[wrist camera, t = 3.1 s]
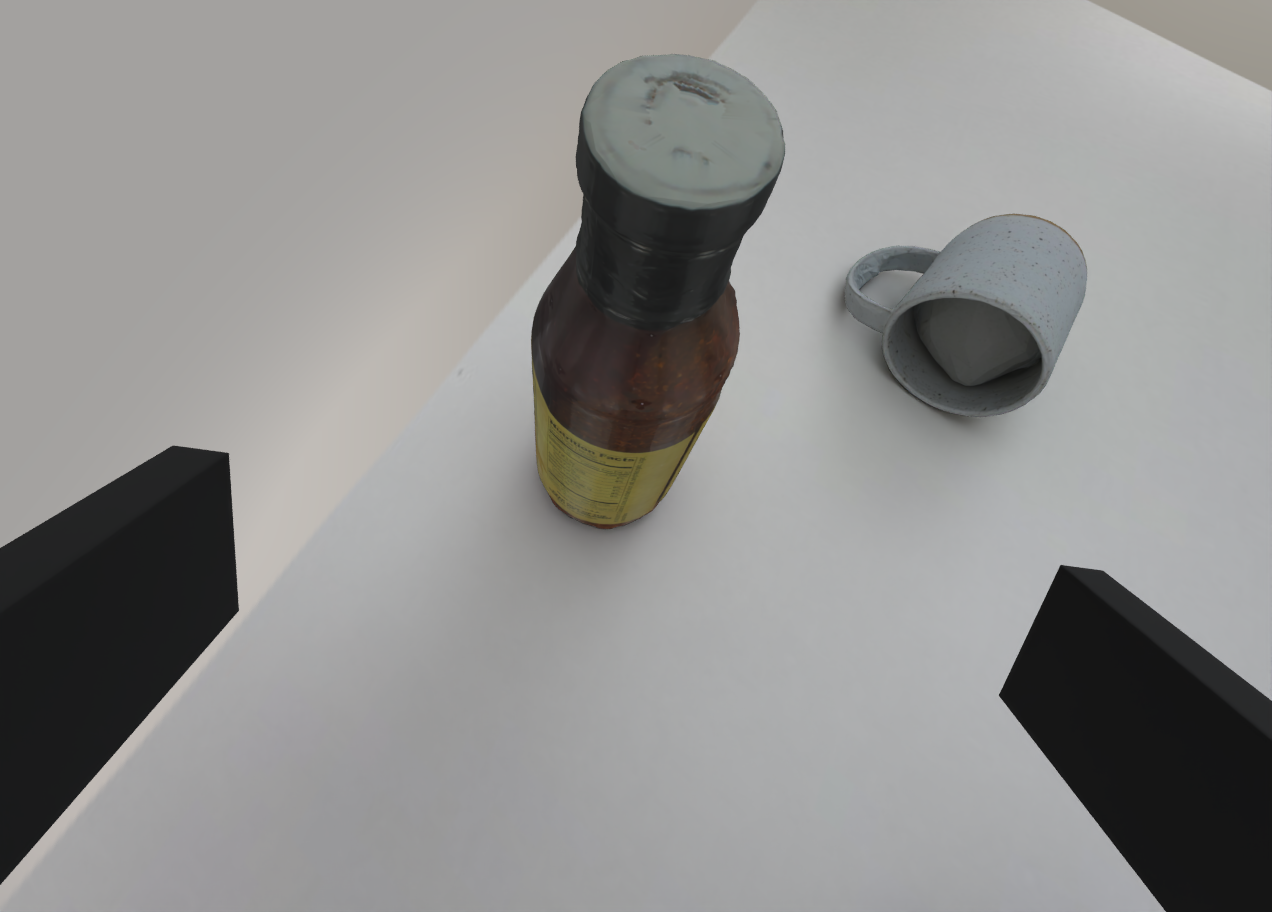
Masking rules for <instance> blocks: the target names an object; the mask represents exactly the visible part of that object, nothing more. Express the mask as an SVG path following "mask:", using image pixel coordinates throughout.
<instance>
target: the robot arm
mask: <svg viewBox="0 0 1272 912" xmlns="http://www.w3.org/2000/svg"><path fill="white" fill-rule="evenodd" d="M238 611H239V607H238V591H237V575H236V560H235V544H234V528H233V512H232V497H231V481H230V465H229V453H224V452H216V451H209V450H202V449H194V448H187V447H179V446H172V447H170V448H168V449H166V450H165V451H163V452H161V453H160V454H158V455H156V456H155V457H153V458H151V459H150V460H148V461H146V462H144V463H143V464H141V465H139V466H138V467H136V468H135V469H133V470H131V471H129V472H128V473H126V474H124V475H123V476H121V477H119V478H118V479H116V480H114V481H113V482H111V483H109V484H107V485H106V486H104V487H102V488H101V489H99V490H97V491H96V492H94V493H92V494H91V495H89V496H87V497H86V498H84V499H82V500H80V501H79V502H77V503H75V504H74V505H72V506H70V507H69V508H67V509H65V510H64V511H62V512H61V513H59V514H57V515H55V516H54V517H52V518H50V519H49V520H47V521H45V522H44V523H42V524H40V525H39V526H37V527H35V528H33V529H32V530H30V531H29V532H27V533H25V534H23V535H22V536H20V537H18V538H17V539H15V540H13V541H11V542H10V543H8V544H7V545H5V546H3V547H1V548H0V885H1V883H2V882H3V881H4V880H5V879H6V878H7V876H8V875H9V874H10V873H11V872H12V871H13V870H14V868H15V867H16V866H17V865H18V864H19V863H20V862H21V860H22V859H23V858H24V857H25V856H26V855H27V854H28V852H29V851H30V850H31V849H32V848H33V846H34V845H35V844H36V843H37V842H38V841H39V840H40V839H41V837H42V836H43V835H44V834H45V833H46V832H47V831H48V829H49V828H50V827H51V826H52V825H53V824H54V822H55V821H56V820H57V819H58V818H59V817H60V816H61V814H62V813H63V812H64V811H65V810H66V809H67V808H68V806H69V805H70V804H71V803H72V802H73V800H74V799H75V798H76V797H77V796H78V795H79V794H80V792H81V791H82V790H83V789H84V788H85V787H86V786H87V784H88V783H89V782H90V781H91V780H92V779H93V778H94V776H95V775H96V774H97V773H98V772H99V771H100V770H101V768H102V767H103V766H104V765H105V764H106V763H107V762H108V760H109V759H110V758H111V757H112V756H113V755H114V754H115V752H116V751H117V750H118V749H119V748H120V747H121V745H122V744H123V743H124V742H125V741H126V740H127V738H128V737H129V736H130V735H131V734H132V733H133V732H134V731H135V729H136V728H137V727H138V726H139V725H140V724H141V723H142V721H143V720H144V719H145V718H146V717H147V716H148V714H149V713H150V712H151V711H152V710H153V709H154V708H155V706H156V705H157V704H158V703H159V702H160V701H161V699H162V698H163V697H164V696H165V695H166V694H167V693H168V691H169V690H170V689H171V688H172V687H173V686H174V685H175V683H176V682H177V681H178V680H179V679H180V678H181V676H182V675H183V674H184V673H185V672H186V671H187V670H188V668H189V667H190V666H191V665H192V664H193V663H194V662H195V660H196V659H197V658H198V657H199V656H200V654H202V652H203V651H204V650H205V649H206V648H207V647H208V645H209V644H210V643H211V642H212V641H213V640H214V639H215V637H216V636H217V635H218V634H219V633H220V632H221V631H222V629H223V628H224V627H225V626H226V625H227V624H228V622H229V621H230V620H231V619H232V618H233V617H234V616H235V614H236V613H237V612H238ZM999 696H1000V698H1001V699H1002V700H1003V701H1004V703H1005V704H1006V705H1007V707H1008V708H1009V709H1010V711H1011V712H1012V713H1013V714H1014V716H1015V717H1016V718H1017V720H1018V721H1019V722H1020V723H1021V725H1022V726H1023V727H1024V729H1025V730H1026V731H1027V733H1028V734H1029V735H1030V736H1031V738H1032V739H1033V740H1034V742H1035V743H1036V744H1037V745H1038V747H1039V748H1040V749H1041V751H1042V752H1043V753H1044V755H1045V756H1046V757H1047V758H1048V760H1049V761H1050V762H1051V764H1052V765H1053V766H1054V767H1055V769H1056V770H1057V771H1058V773H1059V774H1060V775H1061V777H1062V778H1063V779H1064V780H1065V782H1066V783H1067V784H1068V786H1069V787H1070V788H1071V789H1072V791H1073V792H1074V793H1075V795H1076V796H1077V797H1078V799H1079V800H1080V801H1081V802H1082V804H1083V805H1084V806H1085V808H1086V809H1087V810H1088V811H1089V813H1090V814H1091V815H1092V817H1093V818H1094V819H1095V821H1096V822H1097V823H1098V824H1099V826H1100V827H1101V828H1102V830H1103V831H1104V832H1105V833H1106V835H1107V836H1108V837H1109V839H1110V840H1111V841H1112V843H1113V844H1114V845H1115V846H1116V848H1117V849H1118V850H1119V852H1120V853H1121V854H1122V855H1123V857H1124V858H1125V859H1126V861H1127V862H1128V863H1129V865H1130V866H1131V867H1132V868H1133V870H1134V871H1135V872H1136V874H1137V875H1138V876H1139V877H1140V879H1141V880H1142V881H1143V883H1144V884H1145V885H1146V887H1147V888H1148V889H1149V890H1150V892H1151V893H1152V894H1153V896H1154V897H1155V898H1156V899H1157V901H1158V902H1159V903H1160V905H1161V906H1162V907H1163V908H1164V910H1165V911H1166V912H1272V701H1271V700H1270V699H1269V698H1267V697H1266V696H1265V695H1263V694H1262V693H1261V692H1259V691H1258V690H1257V689H1256V688H1254V687H1253V686H1252V685H1250V684H1249V683H1248V682H1247V681H1245V680H1244V679H1243V678H1241V677H1240V676H1239V675H1237V674H1236V673H1235V672H1234V671H1232V670H1231V669H1230V668H1228V667H1227V666H1226V665H1224V664H1223V663H1222V662H1221V661H1219V660H1218V659H1217V658H1215V657H1214V656H1213V655H1212V654H1210V653H1209V652H1208V651H1206V650H1205V649H1204V648H1202V647H1201V646H1200V645H1199V644H1197V643H1196V642H1195V641H1193V640H1192V639H1191V638H1189V637H1188V636H1187V635H1186V634H1184V633H1183V632H1182V631H1180V630H1179V629H1178V628H1177V627H1175V626H1174V625H1173V624H1171V623H1170V622H1169V621H1167V620H1166V619H1165V618H1164V617H1162V616H1161V615H1160V614H1158V613H1157V612H1156V611H1154V610H1153V609H1152V608H1151V607H1149V606H1148V605H1147V604H1145V603H1144V602H1143V601H1142V600H1140V599H1139V598H1138V597H1136V596H1135V595H1134V594H1132V593H1131V592H1130V591H1129V590H1127V589H1126V588H1125V587H1123V586H1122V585H1121V584H1119V583H1118V582H1117V581H1116V580H1114V579H1113V578H1112V577H1110V576H1109V575H1108V574H1106V573H1105V572H1104V571H1101V570H1094V569H1086V568H1079V567H1071V566H1064V565H1060V567H1059V570H1058V572H1057V574H1056V576H1055V578H1054V580H1053V582H1052V584H1051V586H1050V589H1049V591H1048V593H1047V595H1046V597H1045V599H1044V601H1043V603H1042V605H1041V608H1040V610H1039V612H1038V614H1037V616H1036V618H1035V620H1034V622H1033V624H1032V627H1031V629H1030V631H1029V633H1028V635H1027V637H1026V639H1025V641H1024V643H1023V646H1022V648H1021V650H1020V652H1019V654H1018V656H1017V658H1016V660H1015V662H1014V665H1013V667H1012V669H1011V671H1010V673H1009V675H1008V677H1007V679H1006V681H1005V684H1004V686H1003V688H1002V690H1001V692H1000V694H999Z"/></svg>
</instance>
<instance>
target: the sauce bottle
mask: <svg viewBox="0 0 1272 912" xmlns="http://www.w3.org/2000/svg"><path fill="white" fill-rule="evenodd" d="M784 156H785V142H784V139H783V130H782V126H781V123H780V120H779V117H778V114H777V111H776V109H775V108H774V107H773V105H772V104H771V103H770V101H769V100H768V98H767V97H766V96H765V95H764V94H763V93H762V92H761V91H760V90H759V89H758V88H757V87H756V86H755V85H754V84H753V83H752V82H751V81H750V80H749V79H747V78H746V77H744V76H742V75H741V74H739V73H737V72H736V71H734V70H732V69H731V68H728V67H726V66H724V65H721V64H719V63H718V62H716V61H714V60H709V59H703V58H698V57H694V56H690V55H679V54H670V55H653V56H640V57H637V58H635V59H631V60H626V61H622V62H620V63H619V64H617V65H616V66H614V67H612V68H610V69H609V70H608V71H606V72H605V73H604V74H603V75H602V76H601V77H600V78H599V79H598V80H597V81H596V82H595V84H594V85H593V87H592V89H591V91H590V93H589V95H588V96H587V98H586V101H585V104H584V107H583V109H582V111H581V116H580V123H579V136H578V145H577V152H576V167H577V176H578V180H579V184H580V187H581V190H582V192H583V194H584V196H583V206H582V216H581V218H582V224H581V228H580V231H579V234H578V237H577V241H576V247H575V248H574V250H573V251H572V253H571V254H570V256H569V257H568V259H567V260H566V262H565V263H564V264H563V266H562V267H561V269H560V270H559V271H558V273H557V274H556V276H555V277H554V279H553V280H552V282H551V283H550V285H549V286H548V288H547V289H546V291H545V292H544V294H543V296H542V298H541V300H540V302H539V304H538V307H537V310H536V312H535V316H534V320H533V327H532V336H531V349H532V374H533V391H534V415H535V438H536V459H537V467H538V472H539V476H540V479H541V481H542V483H543V485H544V487H545V489H546V490H547V492H548V494H549V496H550V498H551V499H552V501H553V503H554V504H555V506H556V507H557V508H558V509H559V510H561V511H562V512H564V513H565V514H567V515H569V516H570V517H571V518H574V519H576V520H577V521H579V522H582V523H584V524H588V525H591V526H595V527H597V528H602V529H611V528H614V527H618V526H624V525H626V524H629V523H631V522H633V521H635V520H637V519H639V518H641V517H642V516H644V515H646V514H648V513H649V512H651V511H652V510H653V509H654V508H655V507H656V506H657V504H658V503H659V501H661V500H662V499H663V498H664V496H665V495H666V494H667V492H668V490H669V489H670V487H671V486H672V484H673V482H674V480H675V479H676V477H677V475H678V474H679V472H680V470H681V468H682V466H683V464H684V463H685V461H686V459H687V457H688V455H689V453H690V452H691V450H692V448H693V446H694V444H695V442H696V441H697V439H698V437H699V435H700V433H701V432H702V430H703V428H704V426H705V424H706V423H707V421H708V419H709V417H710V415H711V414H712V412H713V410H714V408H715V406H716V404H717V402H718V399H719V397H720V393H721V390H722V387H723V385H724V383H725V381H726V379H727V378H728V376H729V374H730V370H731V369H732V367H733V365H734V361H735V358H736V355H737V352H738V344H739V336H740V332H739V318H738V310H737V306H736V303H737V300H736V297H735V290H734V288H733V287H732V286H731V284H730V282H729V279H730V274H731V265H732V262H733V259H734V257H735V255H736V252H737V250H738V248H739V246H740V243H741V241H742V238H743V236H744V234H745V233H746V232H747V230H748V229H749V228H750V227H751V226H752V225H753V224H754V223H755V222H756V220H757V219H758V217H759V216H760V215H761V213H762V211H763V209H764V207H765V205H766V203H767V201H768V198H769V197H770V195H771V193H772V191H773V188H774V186H775V184H776V181H777V178H778V176H779V174H780V172H781V168H782V164H783V160H784Z"/></svg>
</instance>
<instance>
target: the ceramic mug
mask: <svg viewBox="0 0 1272 912" xmlns="http://www.w3.org/2000/svg"><path fill="white" fill-rule="evenodd" d="M890 270H905V271H915V272H920V273H924V274H923V275H922V277H921V278H920V279H919V280H918V281H917V282H916V283H915V285H914V286H913V287H912V288H911V290H910V291H909V292H908V293H907V295H906V296H905V297H904V298H903V299H902V301H901V302H900V303H899V304H898V306H897V307H896V308H895V309H890V308H886V307H883V306H881V305H880V304H878V303H876V302H875V301H873V300H871V299H869V298H868V297H866V296H865V295H864V294H862V293H861V292H860V290H859V289H860V288H861V287H862V286H863V285H864V284H865V283H866V282H867V281H868V280H870V279H871V278H872V277H874V276H877V275H878V273H879V272H883V271H890ZM1086 282H1087V266H1086V262H1085V258H1084V255H1083V252H1082V250H1081V248H1080V247H1079V245H1078V244H1077V242H1076V241H1075V240H1074V239H1073V238H1072V237H1071V236H1070V235H1069V234H1068V233H1067V232H1066V231H1065V230H1064V229H1062V228H1061V227H1059V226H1057V225H1056V224H1054V223H1052V222H1051V221H1048V220H1045V219H1042V218H1039V217H1036V216H1031V215H1021V214H1006V215H999V216H993V217H990V218H987V219H984V220H982V221H979V222H978V223H976V224H974V225H972V226H970V227H969V228H967V229H966V230H964V231H963V232H961V233H960V234H959V235H957V236H956V237H955V238H954V239H953V240H952V241H951V242H950V243H948V244H947V245H946V247H945V248H944V249H943V250H942V251H941V252H939V251H935V250H931V249H926V248H920V247H915V246H892V247H887V248H882V249H879V250H876V251H873V252H871V253H869V254H867V255H866V256H864V257H862V258H861V259H860V260H858V261H857V262H856V263H855V264H854V266H853V267H852V268H851V269H850V271H849V273H848V275H847V277H846V286H845V303H846V305H847V308H848V310H849V312H850V313H851V314H852V315H853V317H854V318H856V319H857V320H858V321H860V322H861V323H863V324H865V325H866V326H868V327H870V328H872V329H874V330H876V331H878V332H880V333H883V336H882V348H883V354H884V358H885V360H886V363H887V365H888V367H889V368H890V370H891V372H892V374H893V375H894V376H895V377H896V379H897V380H898V381H899V382H900V383H901V385H902V386H904V387H905V388H906V389H907V390H908V391H909V392H911V393H912V394H913V395H914V396H916V397H917V398H919V399H920V400H922V401H924V402H925V403H927V404H929V405H930V406H933V407H935V408H938V409H940V410H943V411H946V412H949V413H953V414H958V415H963V416H971V417H986V416H994V415H1000V414H1004V413H1007V412H1010V411H1013V410H1015V409H1018V408H1020V407H1021V406H1023V405H1025V404H1026V403H1028V402H1029V401H1031V400H1032V399H1033V398H1035V397H1036V396H1037V395H1038V394H1039V393H1040V392H1041V391H1042V389H1043V388H1044V387H1045V386H1046V384H1047V382H1048V380H1049V378H1050V376H1051V374H1052V371H1053V369H1054V366H1055V364H1056V362H1057V359H1058V356H1059V354H1060V352H1061V350H1062V348H1063V346H1064V343H1065V341H1066V339H1067V336H1068V334H1069V332H1070V329H1071V327H1072V325H1073V322H1074V320H1075V318H1076V316H1077V314H1078V311H1079V309H1080V307H1081V305H1082V303H1083V300H1084V296H1085V291H1086Z"/></svg>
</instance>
